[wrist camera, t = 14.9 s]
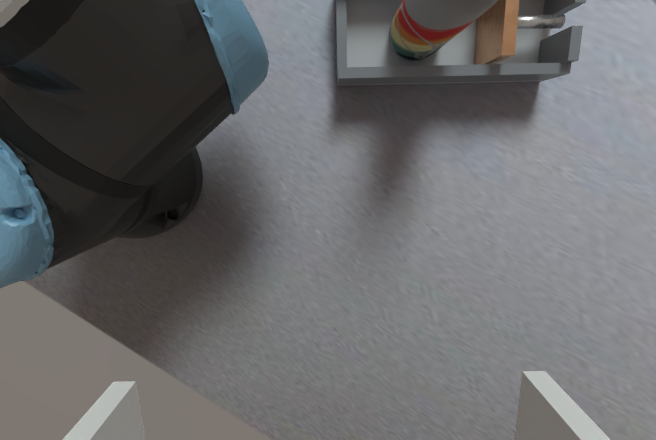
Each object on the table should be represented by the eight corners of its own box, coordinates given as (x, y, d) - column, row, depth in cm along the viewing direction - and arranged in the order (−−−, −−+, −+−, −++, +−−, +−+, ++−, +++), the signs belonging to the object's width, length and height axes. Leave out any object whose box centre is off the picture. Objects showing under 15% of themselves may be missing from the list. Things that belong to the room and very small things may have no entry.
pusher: (474, 68, 38) (501, 55, 32) (479, -8, 37) (508, -36, 31) (540, 67, 38) (579, 53, 32) (548, -10, 37) (590, -38, 31)
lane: (336, 86, 40) (338, 76, 34) (335, -14, 37) (337, -42, 32) (539, 81, 40) (577, 71, 34) (550, -18, 38) (591, -48, 32)
